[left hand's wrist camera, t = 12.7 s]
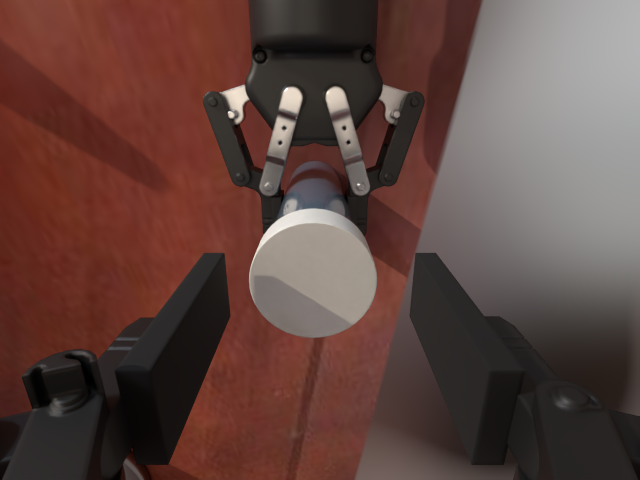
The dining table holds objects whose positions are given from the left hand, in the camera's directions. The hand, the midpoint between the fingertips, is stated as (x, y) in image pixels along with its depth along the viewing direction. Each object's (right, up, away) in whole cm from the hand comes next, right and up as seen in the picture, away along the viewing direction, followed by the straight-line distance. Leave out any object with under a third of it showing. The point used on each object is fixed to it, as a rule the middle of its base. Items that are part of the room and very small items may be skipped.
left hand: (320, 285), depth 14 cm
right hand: (0, +2, +13) cm, 13 cm away
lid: (0, 0, +1) cm, 1 cm away
